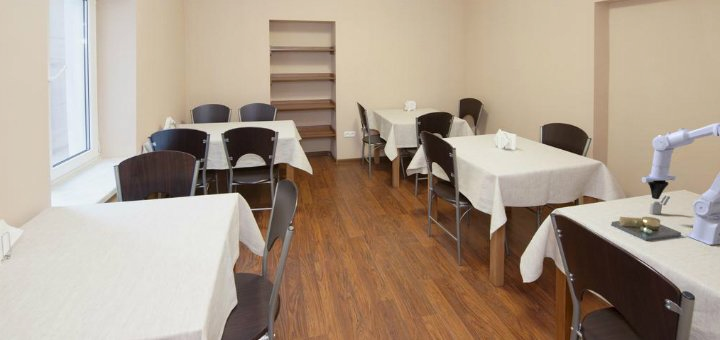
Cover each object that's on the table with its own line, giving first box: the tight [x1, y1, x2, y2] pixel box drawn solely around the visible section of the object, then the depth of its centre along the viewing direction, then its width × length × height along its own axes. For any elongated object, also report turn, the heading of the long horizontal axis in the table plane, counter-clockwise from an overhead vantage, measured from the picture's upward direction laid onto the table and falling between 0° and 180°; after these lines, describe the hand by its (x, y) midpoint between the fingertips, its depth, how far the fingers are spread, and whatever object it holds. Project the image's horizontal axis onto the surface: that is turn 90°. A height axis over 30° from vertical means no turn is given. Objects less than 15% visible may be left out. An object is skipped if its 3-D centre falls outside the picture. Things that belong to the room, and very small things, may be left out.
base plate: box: [610, 220, 682, 242], centre depth 172 cm, size 16×16×3 cm
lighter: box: [649, 194, 671, 215], centre depth 190 cm, size 7×2×8 cm, turn 96°
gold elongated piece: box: [618, 216, 661, 230], centre depth 172 cm, size 14×6×3 cm, turn 77°
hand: (655, 198), depth 180 cm, fingers closed
